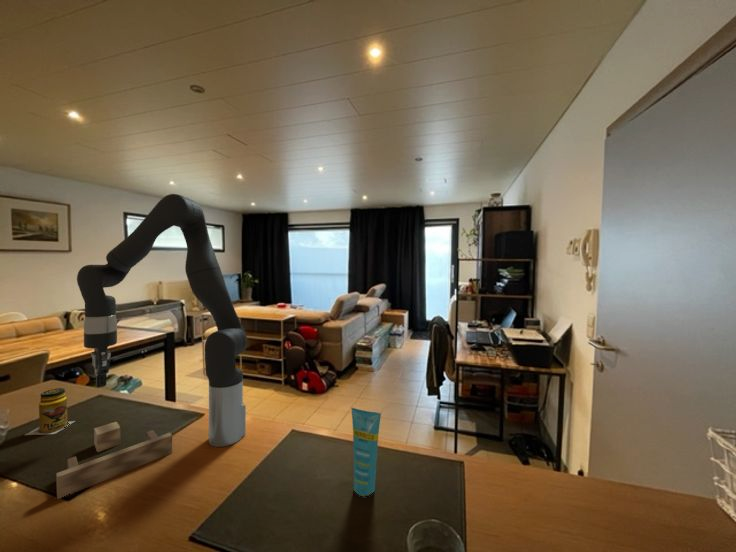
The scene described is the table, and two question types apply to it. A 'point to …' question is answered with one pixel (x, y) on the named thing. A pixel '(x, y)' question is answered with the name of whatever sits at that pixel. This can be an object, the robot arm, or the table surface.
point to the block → (107, 436)
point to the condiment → (52, 412)
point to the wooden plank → (111, 464)
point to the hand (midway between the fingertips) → (101, 386)
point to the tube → (365, 449)
